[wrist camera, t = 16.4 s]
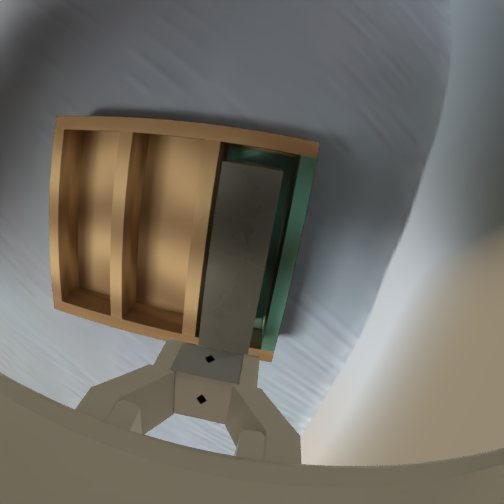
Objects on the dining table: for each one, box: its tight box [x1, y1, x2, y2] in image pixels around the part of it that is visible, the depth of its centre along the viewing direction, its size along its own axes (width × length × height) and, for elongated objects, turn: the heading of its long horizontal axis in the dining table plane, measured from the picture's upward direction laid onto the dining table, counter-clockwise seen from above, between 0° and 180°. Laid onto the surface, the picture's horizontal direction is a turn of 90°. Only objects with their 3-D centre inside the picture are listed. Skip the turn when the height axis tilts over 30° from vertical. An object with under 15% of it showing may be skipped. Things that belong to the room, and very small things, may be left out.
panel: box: [198, 159, 283, 356], centre depth 20 cm, size 12×3×7 cm, turn 170°
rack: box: [49, 116, 320, 362], centre depth 23 cm, size 16×19×4 cm
